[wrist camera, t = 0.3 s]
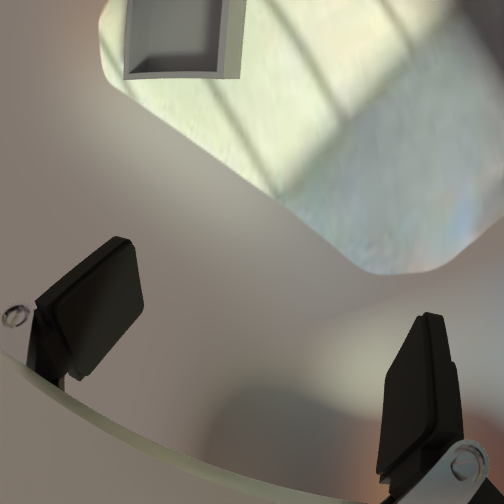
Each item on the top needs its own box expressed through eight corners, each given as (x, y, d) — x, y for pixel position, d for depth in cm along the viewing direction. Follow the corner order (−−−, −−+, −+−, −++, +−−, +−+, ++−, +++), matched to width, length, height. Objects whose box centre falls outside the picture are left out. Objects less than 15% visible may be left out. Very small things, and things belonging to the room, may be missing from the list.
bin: (152, -12, 30) (129, -18, 26) (248, -22, 27) (233, -34, 23) (146, 77, 38) (123, 80, 34) (239, 78, 35) (223, 79, 30)
